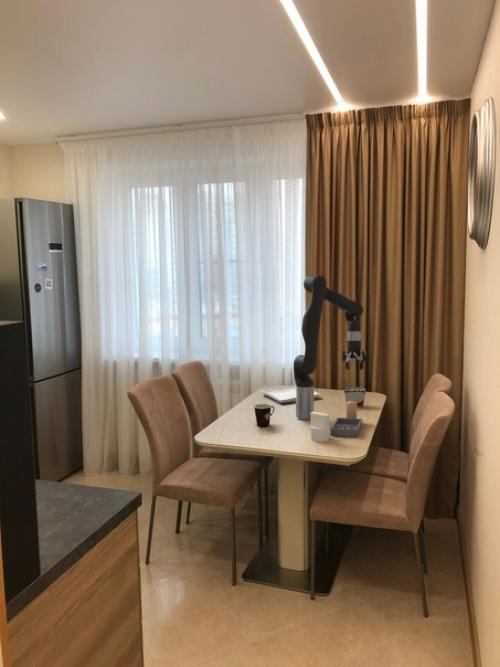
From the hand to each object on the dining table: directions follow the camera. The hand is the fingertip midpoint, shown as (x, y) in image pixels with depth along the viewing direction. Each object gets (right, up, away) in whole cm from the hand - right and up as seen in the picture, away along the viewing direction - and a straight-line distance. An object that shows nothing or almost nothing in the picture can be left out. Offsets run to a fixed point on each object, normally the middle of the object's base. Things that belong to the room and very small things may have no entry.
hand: (354, 369), depth 300 cm
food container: (+2, -21, +9) cm, 23 cm away
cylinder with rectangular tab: (-24, -30, -43) cm, 58 cm away
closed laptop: (-33, -19, +33) cm, 50 cm away
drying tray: (-10, -28, -33) cm, 44 cm away
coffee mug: (-49, -27, -20) cm, 59 cm away
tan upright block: (-5, -25, -19) cm, 32 cm away
